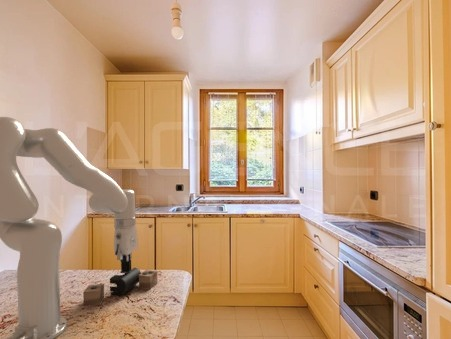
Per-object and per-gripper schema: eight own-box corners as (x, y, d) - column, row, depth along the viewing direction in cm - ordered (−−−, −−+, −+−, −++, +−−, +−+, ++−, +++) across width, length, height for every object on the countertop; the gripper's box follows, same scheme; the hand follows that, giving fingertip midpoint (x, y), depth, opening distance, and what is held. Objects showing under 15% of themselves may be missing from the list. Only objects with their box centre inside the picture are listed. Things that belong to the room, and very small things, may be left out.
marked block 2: (150, 289, 96) (150, 275, 96) (139, 288, 98) (138, 274, 98) (157, 283, 101) (157, 270, 101) (146, 282, 102) (146, 269, 102)
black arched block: (126, 297, 90) (125, 278, 90) (109, 295, 92) (108, 277, 92) (142, 285, 100) (141, 267, 100) (126, 283, 102) (126, 266, 102)
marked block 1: (99, 305, 86) (99, 289, 86) (83, 306, 85) (83, 291, 85) (104, 297, 91) (103, 283, 91) (89, 299, 90) (88, 284, 90)
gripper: (124, 227, 88) (126, 279, 88) (142, 218, 103) (144, 263, 103) (104, 227, 89) (105, 279, 89) (125, 218, 104) (126, 263, 104)
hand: (126, 270), depth 96 cm, fingers closed
